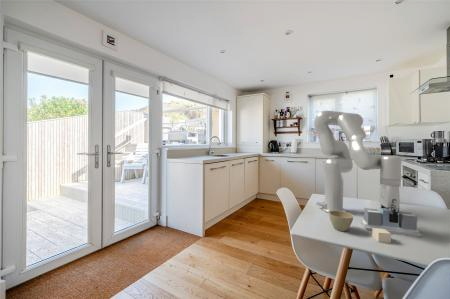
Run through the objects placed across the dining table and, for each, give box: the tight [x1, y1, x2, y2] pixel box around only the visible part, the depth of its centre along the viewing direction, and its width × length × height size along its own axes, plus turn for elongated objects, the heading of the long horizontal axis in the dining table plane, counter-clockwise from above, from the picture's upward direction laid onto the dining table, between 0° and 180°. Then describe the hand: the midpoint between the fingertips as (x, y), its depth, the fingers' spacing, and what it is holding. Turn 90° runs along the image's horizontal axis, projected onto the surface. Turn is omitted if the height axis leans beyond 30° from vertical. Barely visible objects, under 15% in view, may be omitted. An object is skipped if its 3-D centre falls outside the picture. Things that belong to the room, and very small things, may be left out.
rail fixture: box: [360, 207, 422, 238], centre depth 94 cm, size 20×9×8 cm, turn 70°
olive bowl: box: [328, 211, 354, 232], centre depth 95 cm, size 10×10×7 cm
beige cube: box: [371, 228, 392, 244], centre depth 84 cm, size 4×4×4 cm
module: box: [378, 207, 399, 228], centre depth 94 cm, size 6×4×7 cm
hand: (388, 218), depth 94 cm, fingers open, 9 cm apart
